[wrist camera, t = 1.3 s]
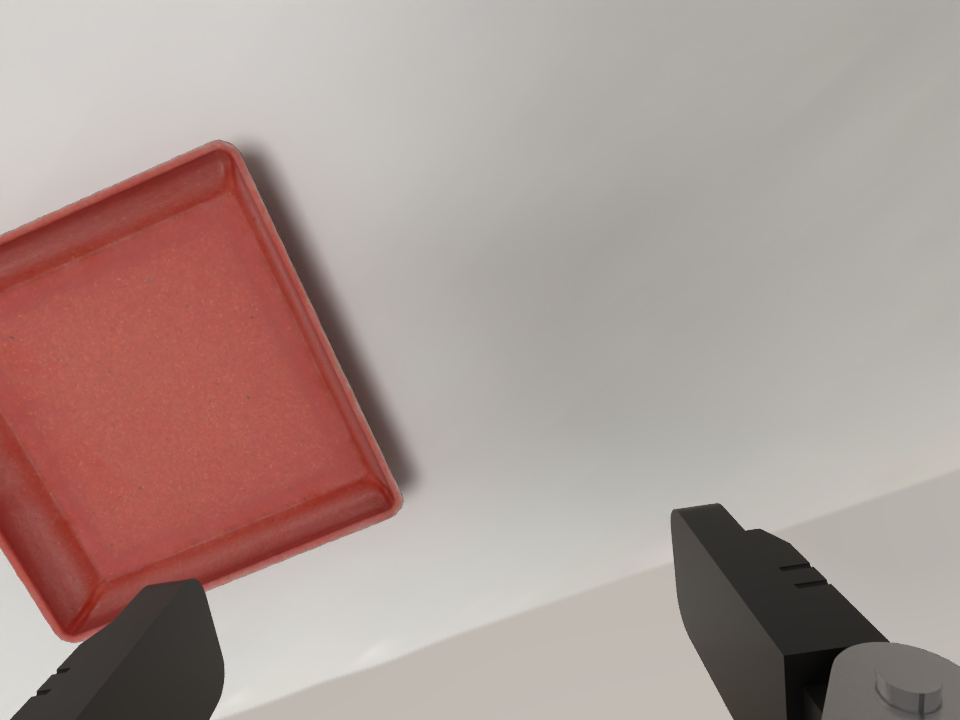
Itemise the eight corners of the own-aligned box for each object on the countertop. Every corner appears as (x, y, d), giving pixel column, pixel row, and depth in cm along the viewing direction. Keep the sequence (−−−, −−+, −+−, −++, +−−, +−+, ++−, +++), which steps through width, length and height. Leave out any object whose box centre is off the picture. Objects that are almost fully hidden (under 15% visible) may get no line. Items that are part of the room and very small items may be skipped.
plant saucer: (255, 142, 28) (227, 130, 25) (415, 484, 31) (409, 513, 28) (-88, 295, 29) (-158, 303, 26) (103, 608, 33) (63, 650, 29)
